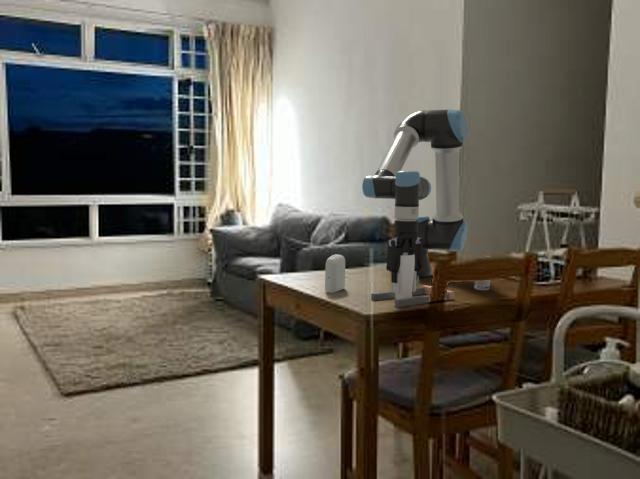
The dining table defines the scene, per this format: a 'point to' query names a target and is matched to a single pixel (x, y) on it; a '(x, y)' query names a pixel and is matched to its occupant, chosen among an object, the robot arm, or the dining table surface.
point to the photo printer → (335, 273)
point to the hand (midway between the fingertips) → (404, 291)
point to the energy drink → (482, 284)
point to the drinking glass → (406, 276)
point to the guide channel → (410, 301)
